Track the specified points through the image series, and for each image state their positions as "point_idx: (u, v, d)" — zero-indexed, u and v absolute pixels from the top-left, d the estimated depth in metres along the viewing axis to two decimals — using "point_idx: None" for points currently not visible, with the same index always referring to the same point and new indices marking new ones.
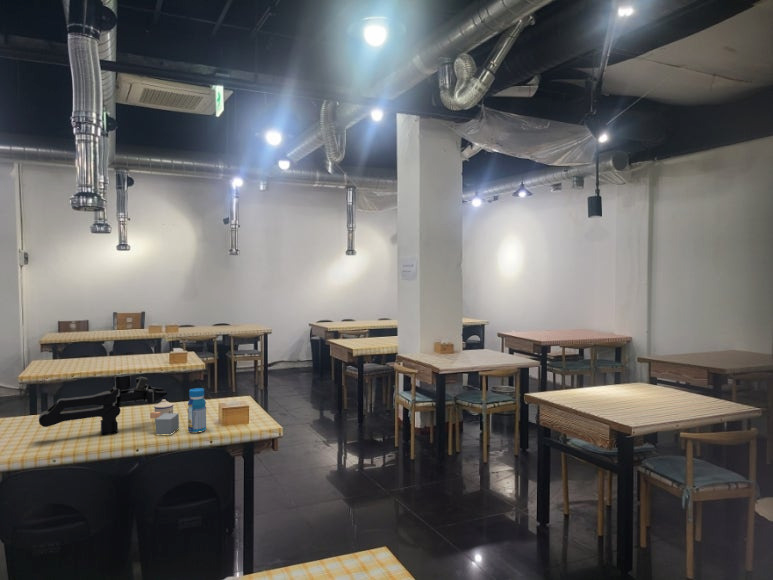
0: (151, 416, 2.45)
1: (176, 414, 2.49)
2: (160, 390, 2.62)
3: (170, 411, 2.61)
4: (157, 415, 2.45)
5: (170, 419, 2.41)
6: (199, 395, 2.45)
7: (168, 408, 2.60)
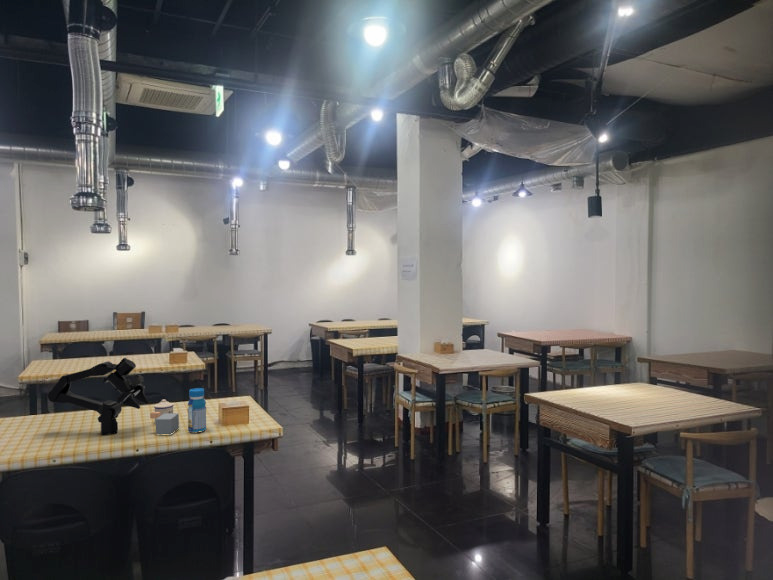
0: (151, 416, 2.45)
1: (176, 414, 2.49)
2: (145, 401, 2.50)
3: (170, 411, 2.61)
4: (157, 415, 2.45)
5: (170, 419, 2.41)
6: (199, 395, 2.45)
7: (168, 408, 2.60)
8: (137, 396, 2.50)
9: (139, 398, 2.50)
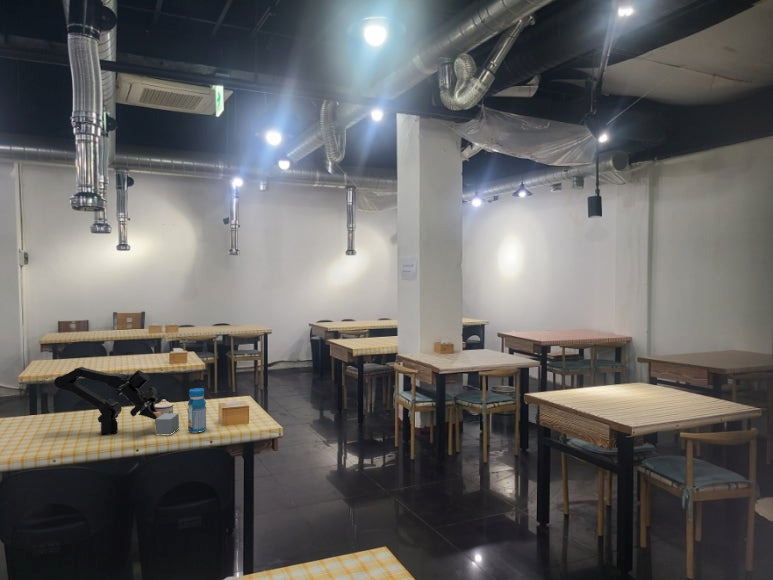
0: None
1: (176, 414, 2.49)
2: None
3: (170, 411, 2.61)
4: (157, 415, 2.45)
5: (170, 419, 2.41)
6: (199, 395, 2.45)
7: (168, 408, 2.60)
8: None
9: None
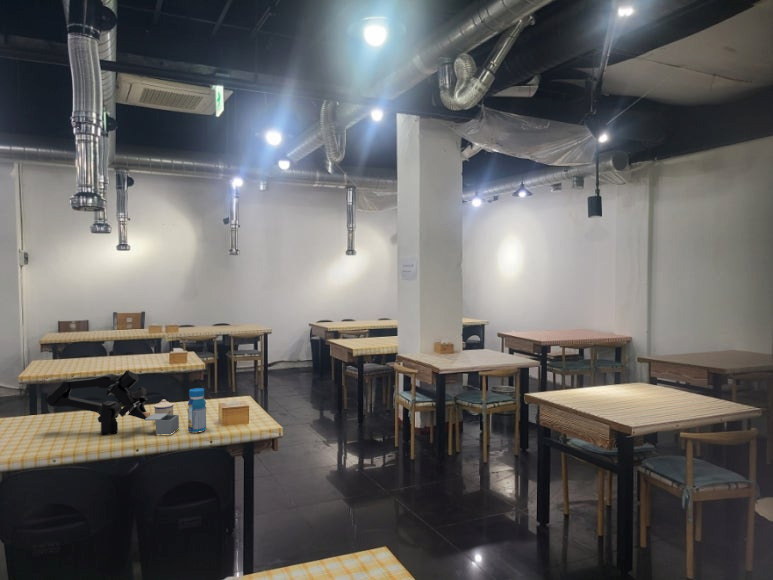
0: None
1: (166, 414, 2.49)
2: None
3: (170, 411, 2.61)
4: (146, 415, 2.44)
5: (159, 419, 2.41)
6: (199, 395, 2.45)
7: (168, 408, 2.60)
8: None
9: None
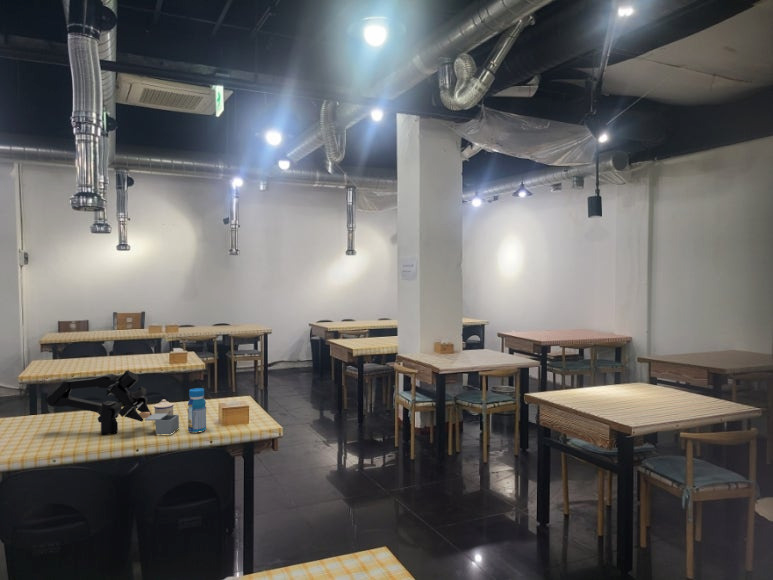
0: None
1: (165, 414, 2.49)
2: None
3: (170, 411, 2.61)
4: (146, 415, 2.44)
5: (159, 419, 2.41)
6: (199, 395, 2.45)
7: (168, 408, 2.60)
8: (140, 408, 2.50)
9: (141, 410, 2.50)
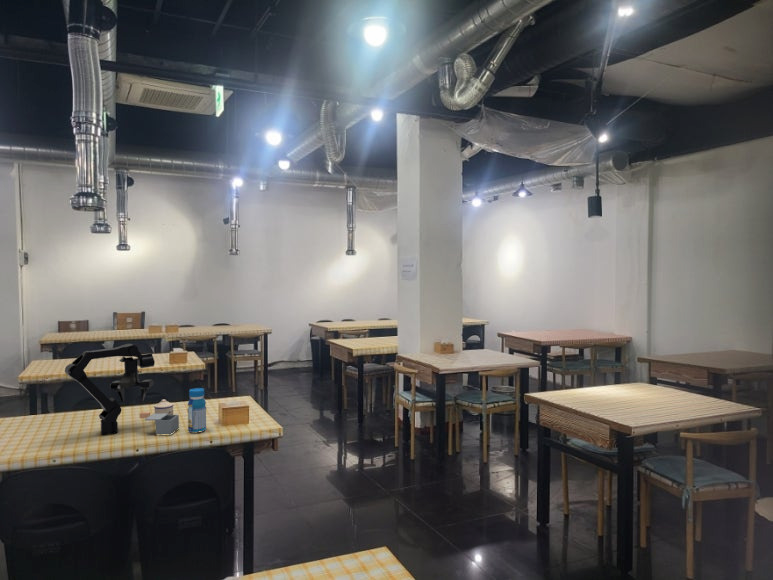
0: (140, 416, 2.44)
1: (165, 414, 2.49)
2: None
3: (170, 411, 2.61)
4: (146, 415, 2.44)
5: (159, 419, 2.41)
6: (199, 395, 2.45)
7: (168, 408, 2.60)
8: None
9: None
